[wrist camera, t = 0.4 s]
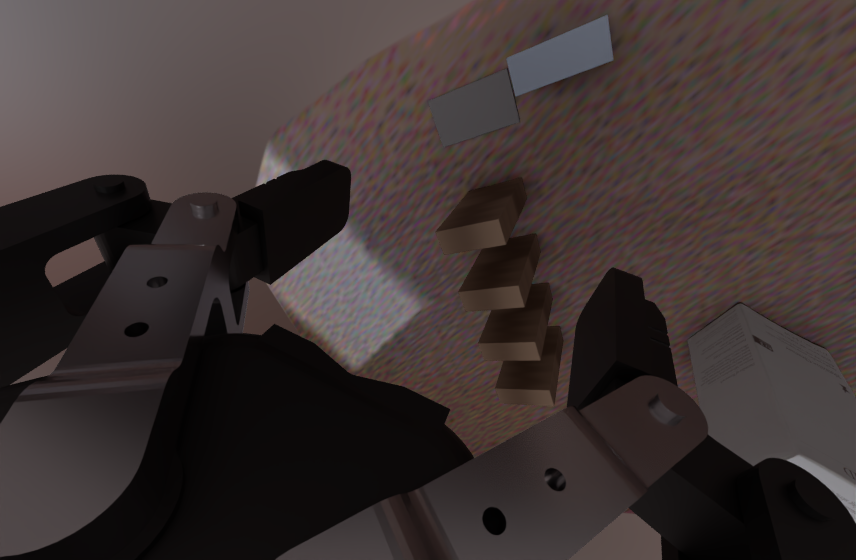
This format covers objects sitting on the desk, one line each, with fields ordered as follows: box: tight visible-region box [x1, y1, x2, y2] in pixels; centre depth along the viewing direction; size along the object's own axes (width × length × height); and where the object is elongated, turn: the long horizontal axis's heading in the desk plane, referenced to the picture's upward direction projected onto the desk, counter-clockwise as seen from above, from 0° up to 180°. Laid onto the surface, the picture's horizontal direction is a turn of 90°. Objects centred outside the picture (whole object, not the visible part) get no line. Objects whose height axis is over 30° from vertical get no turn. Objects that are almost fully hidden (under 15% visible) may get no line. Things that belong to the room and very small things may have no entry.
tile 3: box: [458, 234, 541, 312], centre depth 33 cm, size 5×2×9 cm, turn 112°
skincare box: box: [687, 304, 856, 523], centre depth 27 cm, size 8×6×15 cm
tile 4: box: [478, 283, 553, 361], centre depth 35 cm, size 5×2×9 cm, turn 112°
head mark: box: [428, 69, 520, 147], centre depth 30 cm, size 7×4×1 cm, turn 112°
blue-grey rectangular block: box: [506, 15, 613, 96], centre depth 23 cm, size 5×2×9 cm, turn 112°
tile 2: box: [435, 178, 527, 255], centre depth 30 cm, size 5×2×9 cm, turn 112°
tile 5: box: [495, 326, 563, 406], centre depth 37 cm, size 5×2×9 cm, turn 111°
